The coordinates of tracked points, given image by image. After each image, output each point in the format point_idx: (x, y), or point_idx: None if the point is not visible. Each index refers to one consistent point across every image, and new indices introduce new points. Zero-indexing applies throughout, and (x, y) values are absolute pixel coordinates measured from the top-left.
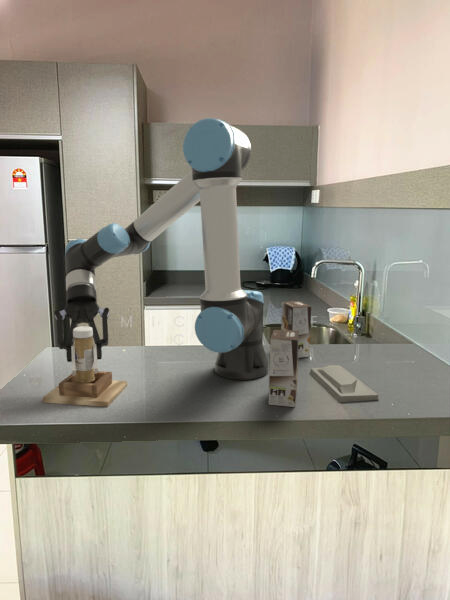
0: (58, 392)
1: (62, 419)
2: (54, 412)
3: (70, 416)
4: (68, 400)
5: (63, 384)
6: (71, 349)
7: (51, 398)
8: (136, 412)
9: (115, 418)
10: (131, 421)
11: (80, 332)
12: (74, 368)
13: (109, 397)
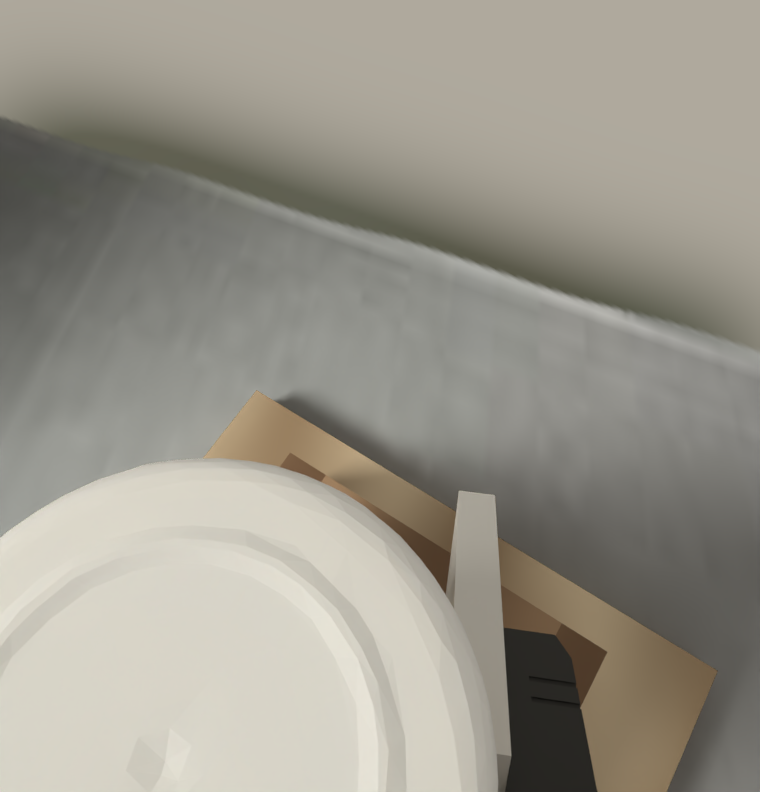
0: (589, 739)
1: (549, 339)
2: (601, 454)
3: (502, 360)
4: (509, 545)
5: (560, 622)
6: (505, 698)
7: (641, 626)
8: (140, 272)
9: (267, 248)
10: (204, 192)
11: (308, 484)
12: (467, 504)
13: (224, 455)
